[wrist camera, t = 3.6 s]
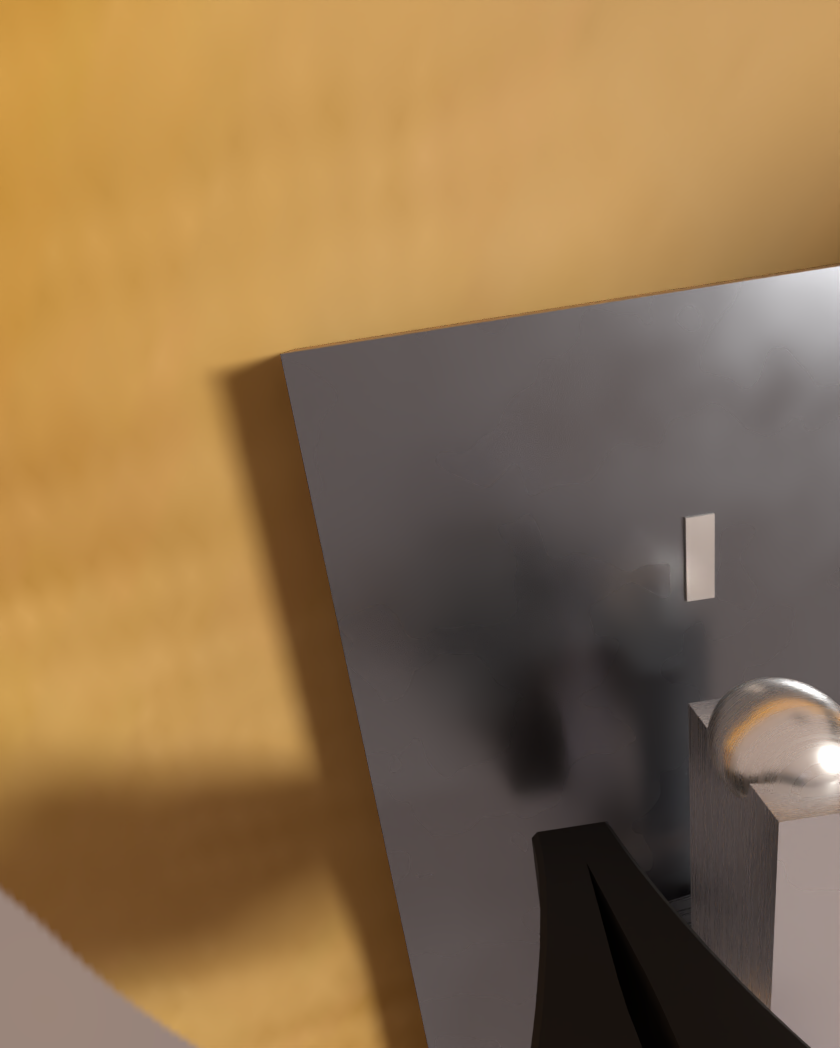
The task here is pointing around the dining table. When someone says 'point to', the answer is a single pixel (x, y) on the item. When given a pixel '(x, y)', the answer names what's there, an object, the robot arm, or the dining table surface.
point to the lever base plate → (566, 585)
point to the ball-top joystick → (769, 846)
